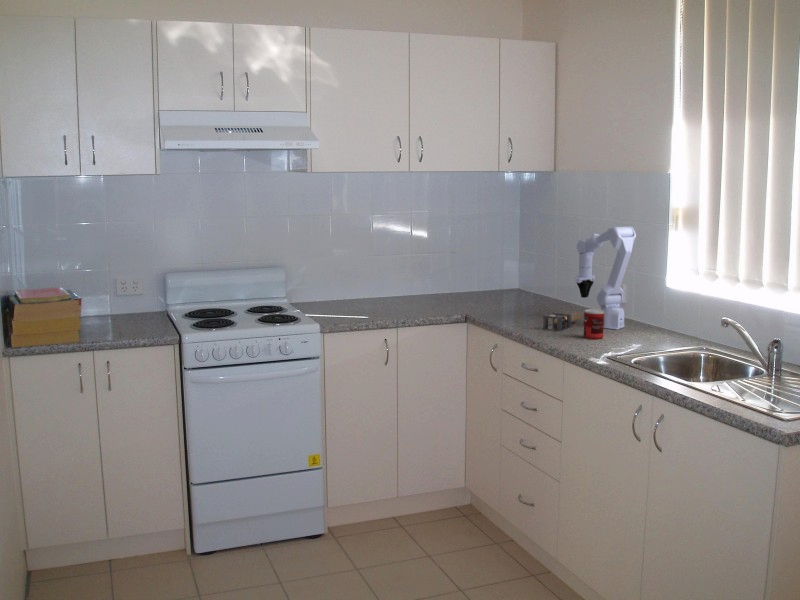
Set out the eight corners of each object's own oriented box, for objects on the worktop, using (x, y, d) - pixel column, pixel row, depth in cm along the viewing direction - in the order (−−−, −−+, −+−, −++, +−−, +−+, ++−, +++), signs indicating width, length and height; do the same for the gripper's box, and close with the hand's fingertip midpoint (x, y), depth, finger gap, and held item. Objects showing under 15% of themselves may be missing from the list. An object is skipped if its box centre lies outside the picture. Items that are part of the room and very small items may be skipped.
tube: (581, 321, 364) (581, 312, 364) (561, 327, 351) (561, 318, 350) (573, 320, 367) (573, 311, 366) (553, 326, 353) (553, 317, 353)
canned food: (588, 334, 338) (589, 308, 336) (606, 337, 333) (607, 310, 331) (580, 338, 332) (580, 311, 331) (598, 340, 327) (599, 313, 326)
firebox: (572, 327, 354) (572, 312, 353) (558, 331, 345) (558, 316, 344) (556, 325, 359) (556, 310, 358) (541, 329, 350) (542, 314, 349)
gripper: (585, 264, 374) (584, 294, 377) (569, 267, 364) (568, 298, 366) (599, 265, 370) (598, 295, 372) (583, 269, 359) (583, 299, 361)
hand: (584, 297), depth 369 cm, fingers closed
